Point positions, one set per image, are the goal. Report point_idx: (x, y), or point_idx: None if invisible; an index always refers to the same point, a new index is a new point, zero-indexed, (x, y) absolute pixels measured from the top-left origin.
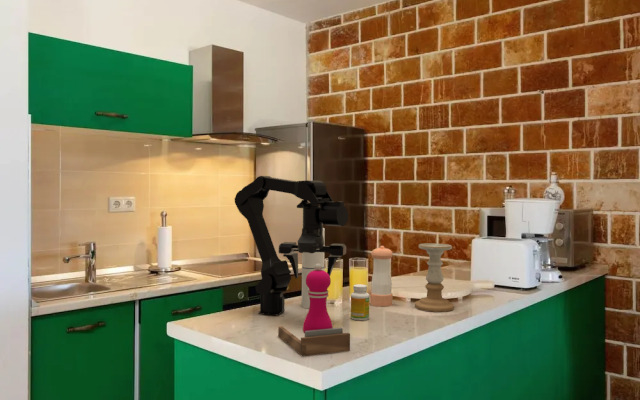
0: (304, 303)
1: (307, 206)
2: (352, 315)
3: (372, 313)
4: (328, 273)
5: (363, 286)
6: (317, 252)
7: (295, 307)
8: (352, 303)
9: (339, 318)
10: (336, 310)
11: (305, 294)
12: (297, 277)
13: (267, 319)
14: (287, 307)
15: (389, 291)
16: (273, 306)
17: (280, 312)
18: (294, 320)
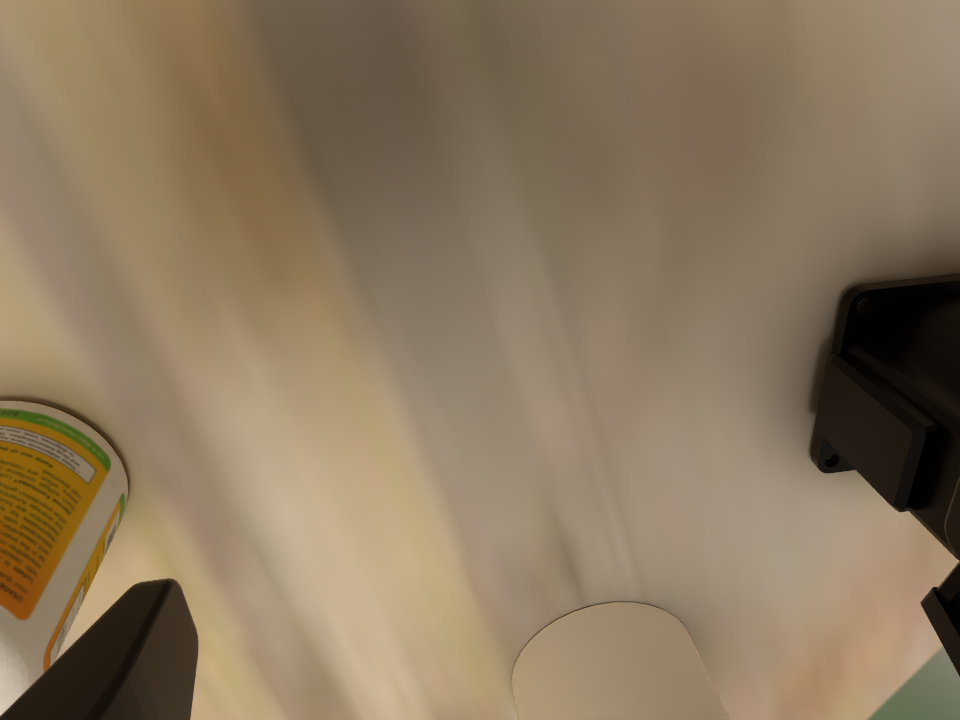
0: (671, 637)
1: None
2: (59, 435)
3: None
4: (36, 717)
5: None
6: None
7: (733, 594)
8: (2, 527)
9: (226, 409)
10: (370, 634)
11: (694, 710)
12: (957, 517)
13: (940, 109)
14: (798, 572)
15: None
16: (955, 339)
17: (840, 349)
18: (650, 170)
